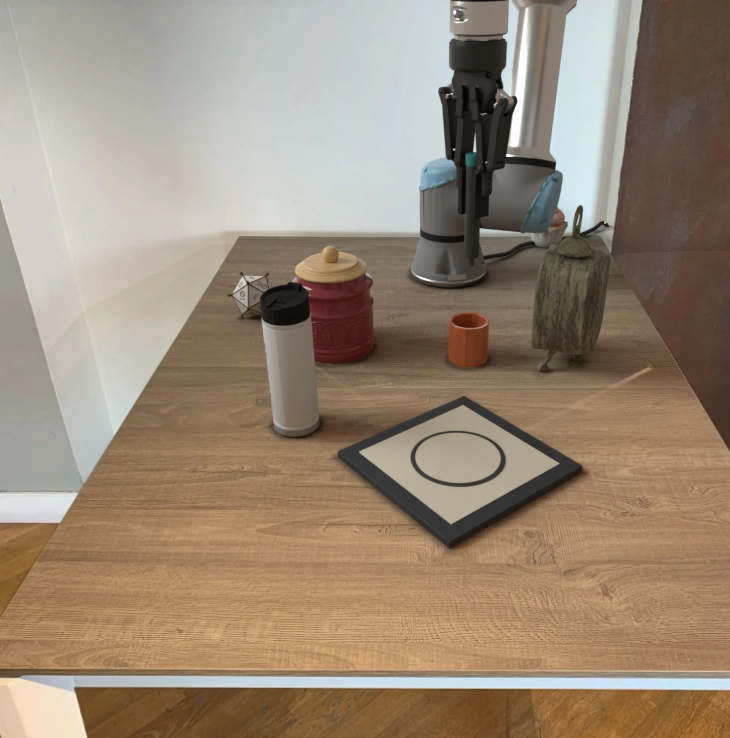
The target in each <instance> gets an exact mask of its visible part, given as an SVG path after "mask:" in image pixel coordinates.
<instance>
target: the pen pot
mask: <svg viewBox="0 0 730 738" xmlns="http://www.w3.org/2000/svg"><path fill="white" fill-rule="evenodd" d="M489 340H490V319H489V318H488V317H487V316H485V315H484V314H481V313H477V312H459V313H456V314H454V315H452V316H450V317H449V320H448V341H447V342H448V345H447V346H448V347H447V351H448V352H447V358H448V360H449V362H451V363H452V364H453V365H456V366H458V367H464V368H473V367H479V366H483V365H484V364H485V363H487V361H488V357H489Z"/></svg>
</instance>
